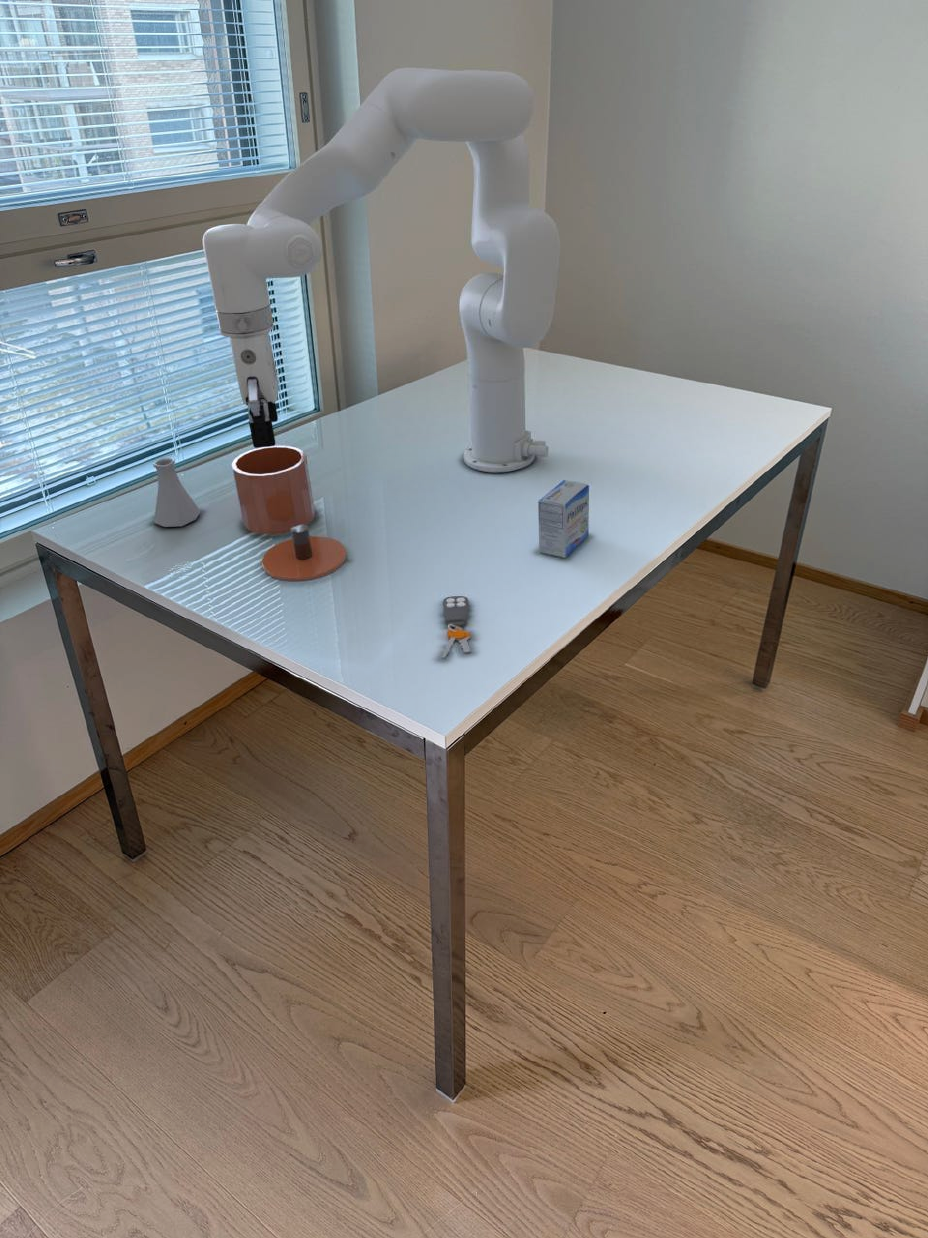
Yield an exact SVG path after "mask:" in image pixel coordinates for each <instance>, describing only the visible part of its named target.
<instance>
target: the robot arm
mask: <svg viewBox="0 0 928 1238" xmlns="http://www.w3.org/2000/svg"><path fill="white" fill-rule="evenodd" d="M534 110H535V99H534V95H533V91H532V89H531V86H529V84H528V83H527V81H526V80H525V79H524V78H523V77H521V76H520V75H519V74H517V73H514V72H511V71H505V70H485V69H464V70H452V69H440V68H428V67H427V68H426V67H400V68H396V69H394V70H392V71H391V72H390V73H388V74H387V75H386V76H385V77H383V79H382V80H380V82H379V83H378V84H377V85H376V86H375V88H374V89H373V90H372V91H371V92H370V94H369V95H368V96H367V97H366V98H365V99H364V101H363V102H362V103H361V104H360V105H359V107H358V108H357V109H356V110H355V111H354V112H353V114H352V115H351V116H350V117H349V118H348V119H347V121H346V122H345V123H344V124H343V126H341V128H340V129H339V130H338V131H337V132H336V134H335V135H334V136H333V137H332V138H331V139H330V140H329V141H328V142H327V143H326V144H325V145H324V146H323V147H321V148H320V149H318V150H317V151H316V152H314V153H313V154H312V155H310V156H309V157H308V158H307V159H306V160H304V161H303V162H302V163H300V164H299V165H298V166H296V167H295V168H294V169H292V171H290V172H289V173H288V174H287V175H286V176H284V177H283V178H282V179H281V180H280V181H279V182H278V183H277V184H276V185H275V186H274V187H273V189H271V191H269V193H268V195H266V197H265V198H264V199H263V201H261V202H260V204H259V205H258V206H257V207H256V209H255V210H254V211H253V212H252V214H251V216H250V217H249V219H248V220H247V223H246V224H244V223H231V224H229V223H228V224H223V225H217V226H213V227H211V228H209V229H207V230H206V231H205V232H204V234H203V236H202V246H203V248H202V249H203V252H204V257H205V262H206V268H207V272H208V277H209V282H210V288H211V293H212V297H213V303H214V307H215V312H216V317H217V322H218V327H219V332H220V335H221V336H223V337H226V338H229V342H230V347H231V353H232V359H233V363H234V364H233V365H234V369H235V374H236V380H237V383H238V388H239V391H240V392H239V393H240V398H241V401H242V403H243V404H244V405H245V406H246V407H247V413H248V425H249V431H250V435H251V440H252V447H254V449H257V448H261V447H270V446H276V438H275V431H274V426H273V423H277V422H278V421H279V416H278V412H277V411H278V410H277V405H276V402H277V401H278V397H279V387H280V382H279V377H278V372H277V368H276V363H275V357H274V351H273V346H272V341H271V337H270V332H271V331H273V330H274V328H275V325H274V319H273V313H272V308H271V301H270V297H269V289H268V285H267V279H289V278H290V279H291V278H292V279H293V278H298V277H304V276H307V275H308V274H310V273H311V272H312V271H314V270H315V269H316V268H317V266H319V263H320V262H321V259H322V254H323V246H322V242H321V238H320V236H319V235H318V233H317V231H316V230H315V229H314V228H313V227H312V226H313V224H314V223H315V222H317V220H319V219H320V218H321V217H322V216H324V214H326V213H328V212H329V211H331V210H333V209H334V208H336V207H339V206H340V205H343V204H345V203H348V202H353V201H355V200H358V199H360V198H362V197H365V196H366V195H369V194H370V193H372V192H374V191H375V190H376V189H377V188H378V187H379V186H380V184H381V183H382V182H383V181H384V180H385V178H386V177H387V176H388V175H389V174H390V172H391V171H392V170H393V169H394V167H396V165H397V164H398V163H399V162H400V161H401V159H403V157H404V156H405V155H406V154H407V152H409V150H411V148H412V147H413V145H415V143H416V142H417V141H418V140H419V139H420V140H426V141H434V142H435V141H437V142H452V143H453V142H455V143H465V144H466V146H467V149H468V150H469V153H470V156H471V159H472V167H473V190H472V191H473V195H472V211H471V229H470V241H471V247H472V250H473V252H474V254H475V256H476V257H478V258H479V259H480V260H481V261H483V262H484V263H487V264H489V265H493V266H495V267H498V268H501V269H503V274H502V273H498V272H481V273H478V274H476V275H474V276H473V277H471V278H470V279H469V280H468V281H467V282H466V283H465V285H464V286H463V288H462V290H461V293H460V296H459V301H458V303H459V305H458V307H459V308H458V310H459V311H458V312H459V316H460V323H461V327H462V332H463V337H464V340H465V348H466V357H467V377H468V378H467V379H468V396H469V415H470V416H469V419H470V434H471V435H470V438H471V445H470V446H468V447H467V448H466V449H465V450H464V452H463V461H464V463H465V465H466V466H467V467H469V468H471V469H473V470H476V471H480V472H486V473H508V472H513V471H517V470H521V469H524V468H526V467H528V466H530V465H531V463H533V462H534V460H535V457H539V458H547V457H548V455H549V446H548V445H547V442H546V441H545V440H534V439H533V438H532V432H531V431H530V430H526V389H525V388H526V386H525V382H526V381H525V372H526V371H525V368H526V367H525V365H526V364H525V354H524V349H526V348H531V347H534V346H537V344H539V343H540V342H541V341H543V339H544V338H545V337H546V336H547V334H548V332H549V331H550V329H551V325H552V322H553V319H554V313H555V306H556V297H557V296H556V295H557V287H558V285H557V284H558V278H559V277H558V276H559V266H560V254H561V240H560V235H559V230H558V228H557V225H556V222H555V221H554V219H553V218H552V217H551V216H550V215H549V214H548V213H547V212H546V211H544V210H543V209H541V208H538V207H536V206H533V205H530V201H529V196H530V171H531V170H530V156H529V150H528V145H527V143H526V142H527V141H526V140H525V137H524V135H523V133H524V132H525V131H526V129H527V128H528V127H529V125H530V123H531V121H532V119H533V115H534Z"/></svg>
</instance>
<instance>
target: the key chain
mask: <svg viewBox="0 0 928 1238" xmlns="http://www.w3.org/2000/svg"><path fill="white" fill-rule="evenodd" d="M442 606H443V607H442V608H443V615H444V621H445V624H446V625H447V628H448V630H447V631H446V636H447V638H449V640H448V644H446V646H445V648H444V650H443V652H442V655H441V659H445V658H446V657H447V655H448V654H449V653H450V651H451V648H452V647H453V645H454V642H455V641H457V642H458V643H459V647H461V649H462V652H463V653H465V654H466V653H470V652H471V649H470V646H469V643H468V640H469V639H471V634H470V632H468V631H464V630H463V628H462V627H463V626H465V625H466V624H467V622H468V618H469V598H468V597H467V596H463V595H454V596H453V595H452V596H447V597H445V598H443V600H442ZM452 627H453V628H452Z"/></svg>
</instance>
